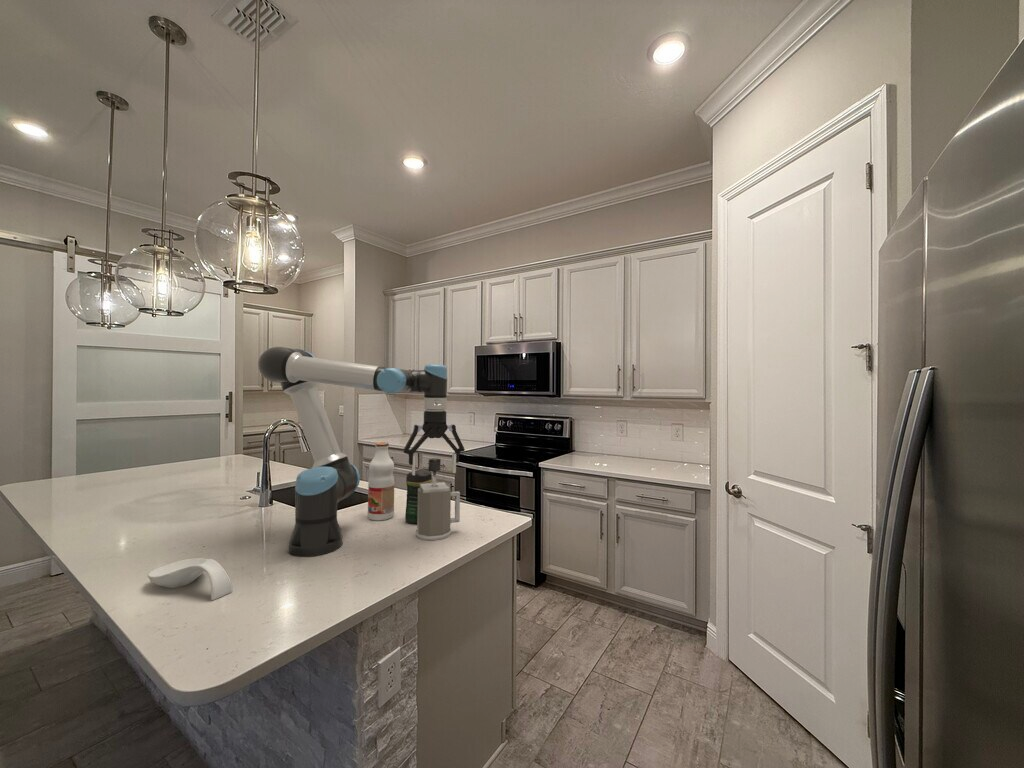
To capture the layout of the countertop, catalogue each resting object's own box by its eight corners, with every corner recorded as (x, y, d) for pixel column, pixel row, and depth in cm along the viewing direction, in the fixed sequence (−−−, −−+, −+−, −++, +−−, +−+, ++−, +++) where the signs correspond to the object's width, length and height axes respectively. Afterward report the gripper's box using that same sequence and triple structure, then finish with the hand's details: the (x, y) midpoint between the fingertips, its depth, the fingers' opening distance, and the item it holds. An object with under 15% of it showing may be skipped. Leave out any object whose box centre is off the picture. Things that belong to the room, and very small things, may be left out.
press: (418, 542, 133) (418, 491, 133) (414, 530, 144) (414, 483, 144) (462, 537, 138) (463, 488, 138) (455, 525, 149) (455, 480, 149)
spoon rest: (137, 587, 102) (137, 558, 102) (190, 568, 113) (190, 542, 113) (197, 609, 93) (197, 577, 93) (248, 586, 103) (249, 557, 103)
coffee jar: (420, 525, 148) (420, 473, 148) (401, 522, 151) (402, 471, 151) (434, 517, 157) (435, 468, 157) (417, 515, 160) (417, 466, 160)
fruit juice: (394, 519, 155) (395, 444, 155) (367, 522, 152) (368, 445, 152) (393, 512, 164) (394, 440, 164) (367, 514, 160) (368, 441, 161)
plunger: (423, 523, 135) (424, 461, 136) (420, 516, 143) (421, 457, 143) (447, 521, 138) (448, 460, 138) (443, 514, 145) (443, 456, 145)
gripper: (397, 411, 133) (396, 477, 133) (474, 410, 141) (472, 473, 141) (396, 409, 140) (394, 473, 140) (468, 409, 148) (467, 469, 148)
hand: (434, 473), depth 140 cm, fingers open, 13 cm apart
